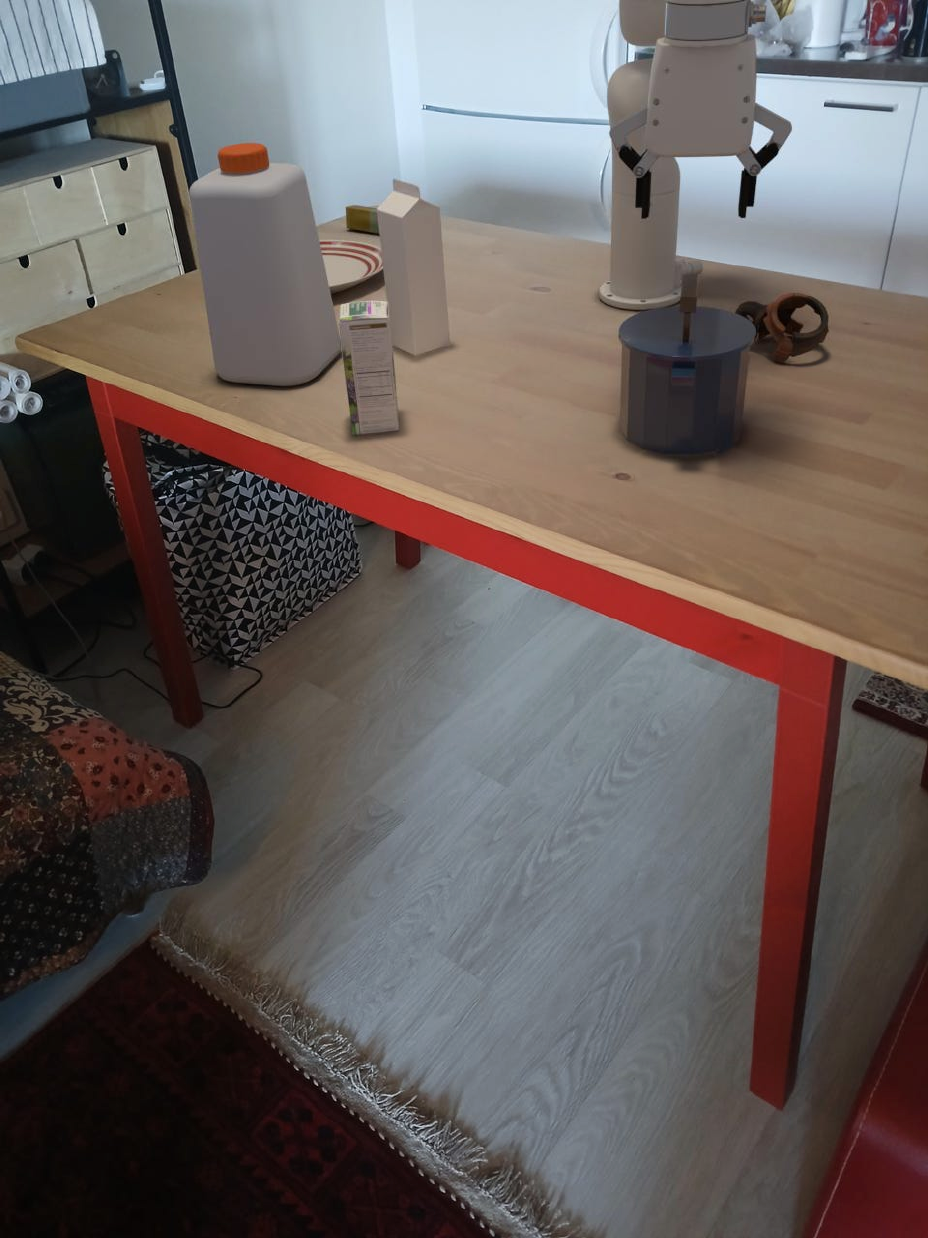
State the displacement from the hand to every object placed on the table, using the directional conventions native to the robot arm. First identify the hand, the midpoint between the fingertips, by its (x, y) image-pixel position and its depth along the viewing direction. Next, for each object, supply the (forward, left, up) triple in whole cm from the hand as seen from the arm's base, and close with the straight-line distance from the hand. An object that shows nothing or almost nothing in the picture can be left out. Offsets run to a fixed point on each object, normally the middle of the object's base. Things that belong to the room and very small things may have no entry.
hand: (693, 214), depth 104 cm
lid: (0, +1, -13) cm, 13 cm away
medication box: (+2, -96, -24) cm, 99 cm away
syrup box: (+30, -20, -24) cm, 43 cm away
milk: (+16, -40, -24) cm, 49 cm away
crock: (0, 0, -24) cm, 24 cm away
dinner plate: (+21, -77, -24) cm, 83 cm away
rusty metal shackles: (-24, -13, -24) cm, 36 cm away
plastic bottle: (+35, -45, -24) cm, 62 cm away
